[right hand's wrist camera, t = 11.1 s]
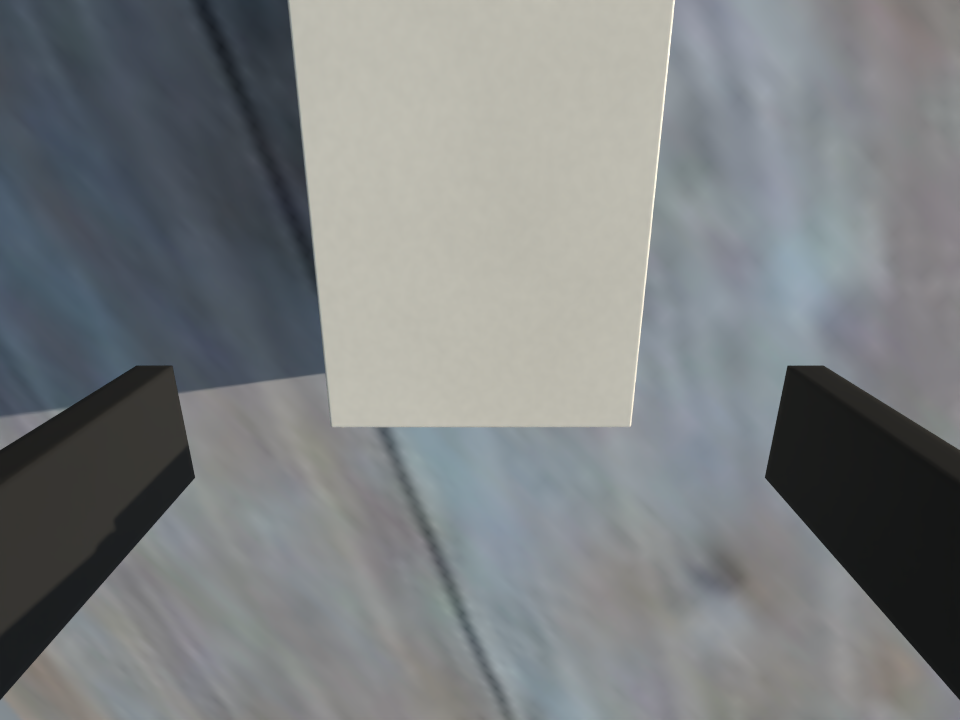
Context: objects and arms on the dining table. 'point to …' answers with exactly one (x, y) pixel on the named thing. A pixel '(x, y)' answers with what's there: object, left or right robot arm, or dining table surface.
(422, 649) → the dining table surface
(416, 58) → the cabinet
